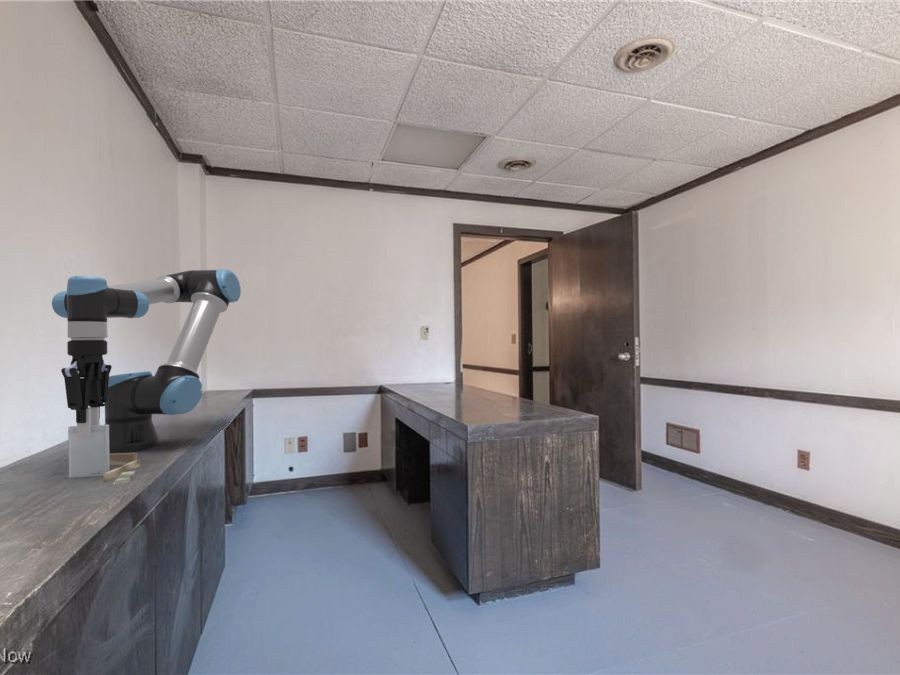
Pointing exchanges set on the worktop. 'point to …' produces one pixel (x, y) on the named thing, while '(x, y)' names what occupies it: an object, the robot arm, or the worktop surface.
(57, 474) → the worktop surface
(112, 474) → the birch rack
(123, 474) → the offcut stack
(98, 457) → the hard drive
